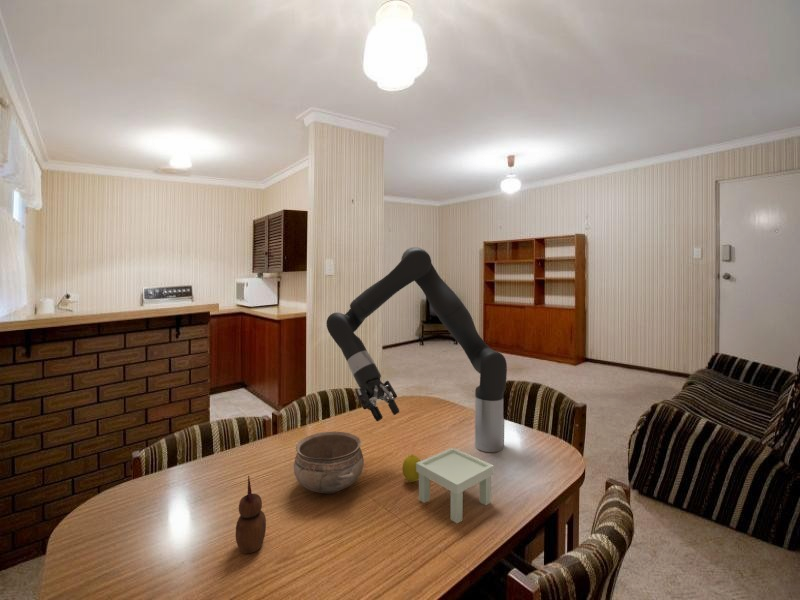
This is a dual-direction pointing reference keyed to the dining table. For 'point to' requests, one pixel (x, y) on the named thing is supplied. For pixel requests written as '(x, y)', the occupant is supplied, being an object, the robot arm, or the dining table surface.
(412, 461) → the lemon
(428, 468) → the stool
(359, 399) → the robot arm
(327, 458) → the cooking pot
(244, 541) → the wooden figurine
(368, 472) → the dining table surface
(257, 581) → the dining table surface
